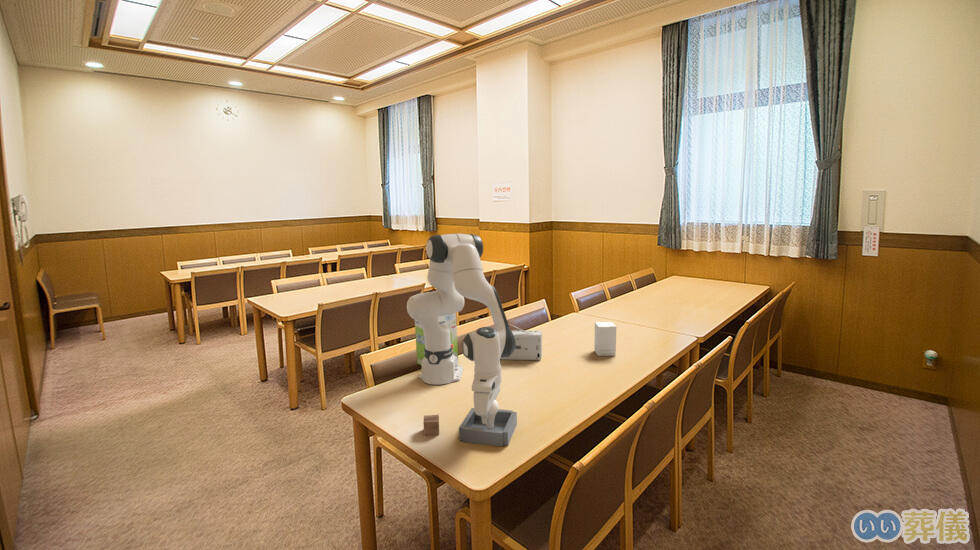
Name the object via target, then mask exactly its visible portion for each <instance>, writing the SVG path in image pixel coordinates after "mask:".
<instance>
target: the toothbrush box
mask: <svg viewBox="0 0 980 550" xmlns="http://www.w3.org/2000/svg"><path fill="white" fill-rule="evenodd" d="M438 322H439V323H440V324H443V325H445V326H447V327H448V329H449V330H450V341H451V344H453V349H452V352H453V355H454V356H456V357H457V358H458V359H459V355H458V354H459V351H458V348H459V347H458V329H457V313H454V314H451V315H445V316H439V317H438ZM414 326H415V327H414V328H415V347H416V348H415V350H416V363H417V365H420V366H421V367H422V360H423V359H424V358H425V356H424V348H425V339H424V332H423V329H422V327H421V325H420V324H419V322H417V321H416V320H415V319H414Z"/></svg>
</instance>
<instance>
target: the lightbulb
mask: <svg viewBox="0 0 980 550" xmlns="http://www.w3.org/2000/svg"><path fill="white" fill-rule="evenodd" d="M499 407H500V406H499V402H498V401H497V399H496V400H494V402H493V405H492V407H491V408H490V410H489V412H488V414H487V417H488V423H487V424H486V428H487V429H492V428H493V427H494V420H495V416H496V414H497V412H498V409H500V408H499Z"/></svg>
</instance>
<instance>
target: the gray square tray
mask: <svg viewBox="0 0 980 550" xmlns="http://www.w3.org/2000/svg"><path fill="white" fill-rule="evenodd" d="M517 425H518V412H517V411H513V410H510V409H500V408H499V409H498V412H497V414H496V416H495V420H494V427H493V428H492V429H487V428H486V424H483V423H482V418H481V416H478V415H476V413H475V410H474V407H471V408H470V409H469V412H468V413H467V415H466V416H465V417H464V418H463V420H462V422H461V424H460V425H459V427H458V435H459V436H458V438H459V441H463V443H467V444H468V443H469V444H476V445H487V446H492V447H493V446H495V447H503V446H507V447H508V446H509V444H510V443H511V440H512V437H513V435H514V432H515V429H516V428H517Z"/></svg>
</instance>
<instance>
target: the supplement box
mask: <svg viewBox="0 0 980 550" xmlns="http://www.w3.org/2000/svg"><path fill="white" fill-rule="evenodd" d="M593 347H594V348H593V349H594V350H595V351H594V352H595V354H596V355H597V356H598V357H609V356H610V357H614V356H615V357H616V354H617V351H616V350H617V326H616V325H615V323H613V322H612V321H602V322H601V321H596V322H594V346H593Z"/></svg>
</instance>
